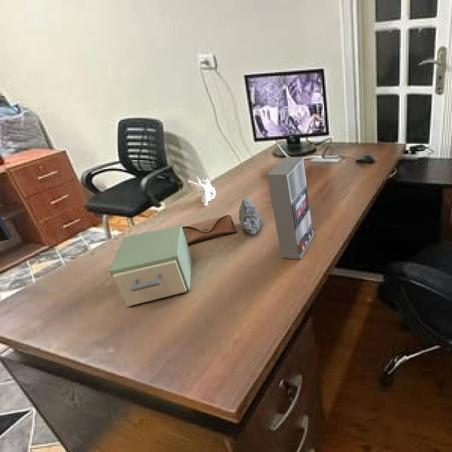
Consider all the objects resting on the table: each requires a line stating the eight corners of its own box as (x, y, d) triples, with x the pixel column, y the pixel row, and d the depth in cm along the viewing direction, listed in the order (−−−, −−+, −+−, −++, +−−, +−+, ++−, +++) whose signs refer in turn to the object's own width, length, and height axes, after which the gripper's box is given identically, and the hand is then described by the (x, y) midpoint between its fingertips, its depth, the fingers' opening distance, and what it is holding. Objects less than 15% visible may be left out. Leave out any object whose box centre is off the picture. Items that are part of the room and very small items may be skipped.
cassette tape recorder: (302, 260, 97) (289, 175, 84) (281, 258, 98) (265, 174, 86) (315, 234, 108) (306, 156, 96) (296, 233, 110) (285, 156, 98)
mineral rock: (254, 240, 108) (247, 211, 103) (224, 237, 111) (216, 209, 106) (272, 220, 119) (267, 193, 114) (244, 218, 122) (238, 192, 117)
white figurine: (206, 206, 134) (199, 182, 129) (188, 206, 135) (181, 183, 131) (220, 193, 144) (215, 171, 139) (204, 193, 145) (198, 171, 141)
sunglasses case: (180, 248, 107) (173, 227, 107) (181, 249, 113) (175, 229, 113) (238, 231, 113) (232, 211, 113) (236, 233, 120) (230, 214, 120)
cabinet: (189, 291, 89) (177, 255, 83) (126, 307, 85) (108, 271, 80) (191, 257, 103) (181, 224, 97) (137, 269, 99) (123, 237, 94)
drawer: (185, 301, 84) (174, 271, 79) (123, 317, 80) (108, 286, 76) (188, 259, 100) (179, 232, 96) (137, 270, 97) (125, 243, 92)
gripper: (-75, 118, 52) (9, 251, 63) (-27, 105, 63) (38, 221, 74) (-140, 126, 50) (-41, 261, 61) (-78, 111, 61) (-4, 228, 72)
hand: (2, 239), depth 68 cm, fingers closed
